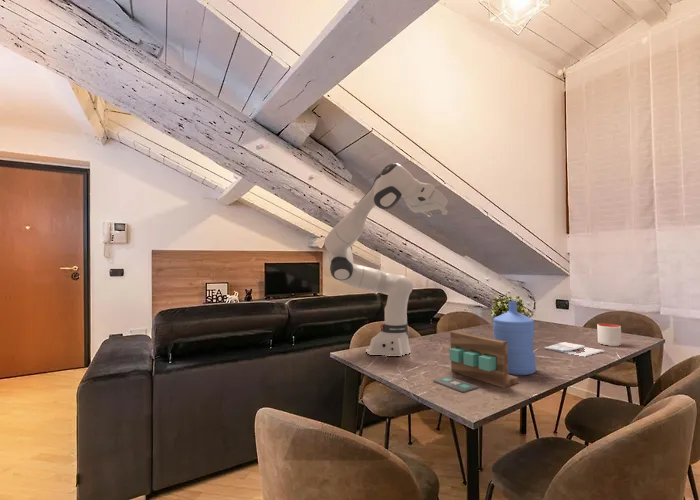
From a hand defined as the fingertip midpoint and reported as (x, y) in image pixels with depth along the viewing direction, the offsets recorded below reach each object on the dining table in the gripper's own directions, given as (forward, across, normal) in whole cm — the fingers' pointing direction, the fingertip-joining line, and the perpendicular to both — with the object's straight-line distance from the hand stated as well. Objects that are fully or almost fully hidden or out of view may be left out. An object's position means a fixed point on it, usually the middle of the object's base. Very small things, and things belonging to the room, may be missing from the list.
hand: (438, 214), depth 150 cm
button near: (+38, +21, -44) cm, 62 cm away
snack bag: (+102, +6, -9) cm, 102 cm away
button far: (+37, +7, -46) cm, 59 cm away
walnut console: (+45, +13, -47) cm, 67 cm away
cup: (+123, +8, +6) cm, 123 cm away
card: (+32, +15, -56) cm, 66 cm away
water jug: (+60, +13, -37) cm, 72 cm away
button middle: (+38, +14, -45) cm, 60 cm away
